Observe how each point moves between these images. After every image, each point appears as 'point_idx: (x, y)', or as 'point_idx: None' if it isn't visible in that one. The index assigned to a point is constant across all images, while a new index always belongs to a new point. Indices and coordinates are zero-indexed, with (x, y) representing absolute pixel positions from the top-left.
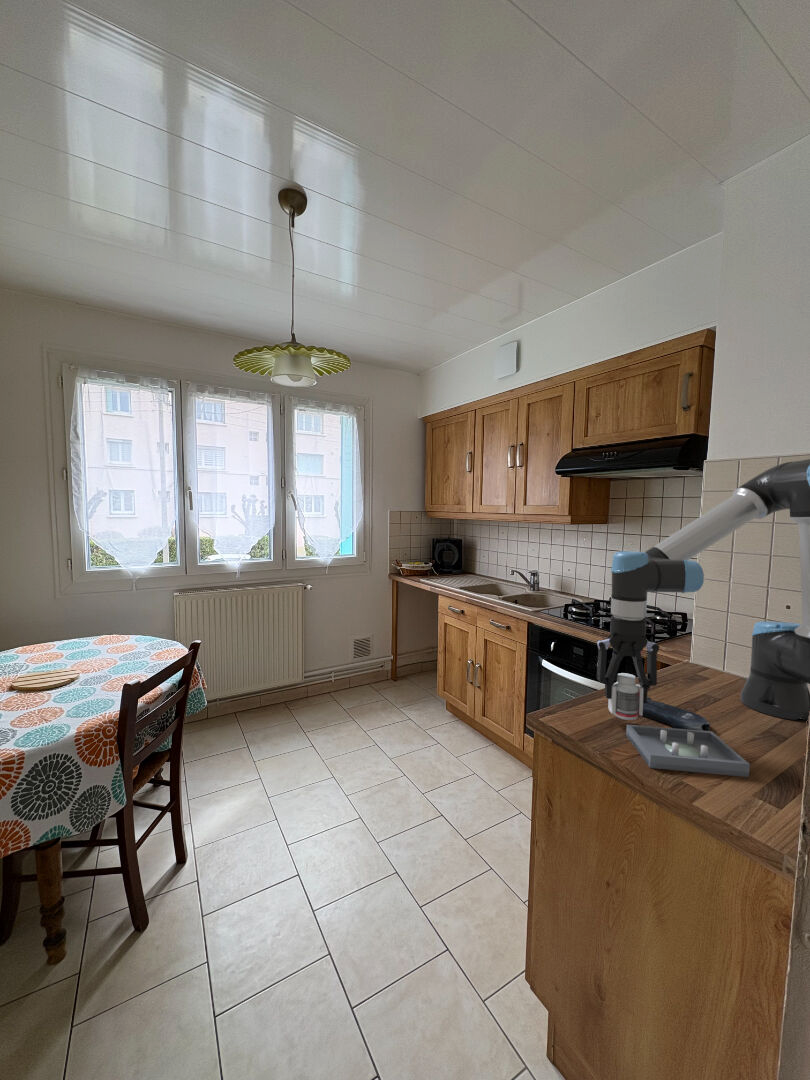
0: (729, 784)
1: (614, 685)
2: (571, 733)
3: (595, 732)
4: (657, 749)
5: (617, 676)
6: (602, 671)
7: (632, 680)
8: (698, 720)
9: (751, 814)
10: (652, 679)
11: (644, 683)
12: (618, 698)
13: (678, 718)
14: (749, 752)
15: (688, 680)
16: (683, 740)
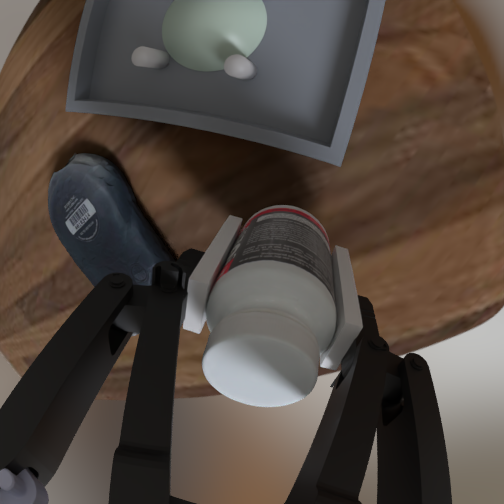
0: None
1: (334, 342)
2: (495, 206)
3: (428, 197)
4: (305, 26)
5: (313, 384)
6: (428, 412)
7: (251, 326)
8: (64, 188)
9: None
10: (112, 300)
11: (170, 298)
12: (331, 278)
13: (107, 202)
14: (44, 73)
15: None
16: (164, 85)
